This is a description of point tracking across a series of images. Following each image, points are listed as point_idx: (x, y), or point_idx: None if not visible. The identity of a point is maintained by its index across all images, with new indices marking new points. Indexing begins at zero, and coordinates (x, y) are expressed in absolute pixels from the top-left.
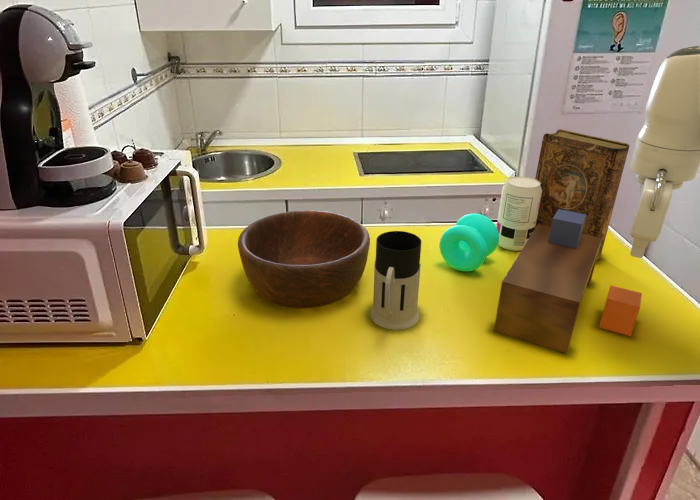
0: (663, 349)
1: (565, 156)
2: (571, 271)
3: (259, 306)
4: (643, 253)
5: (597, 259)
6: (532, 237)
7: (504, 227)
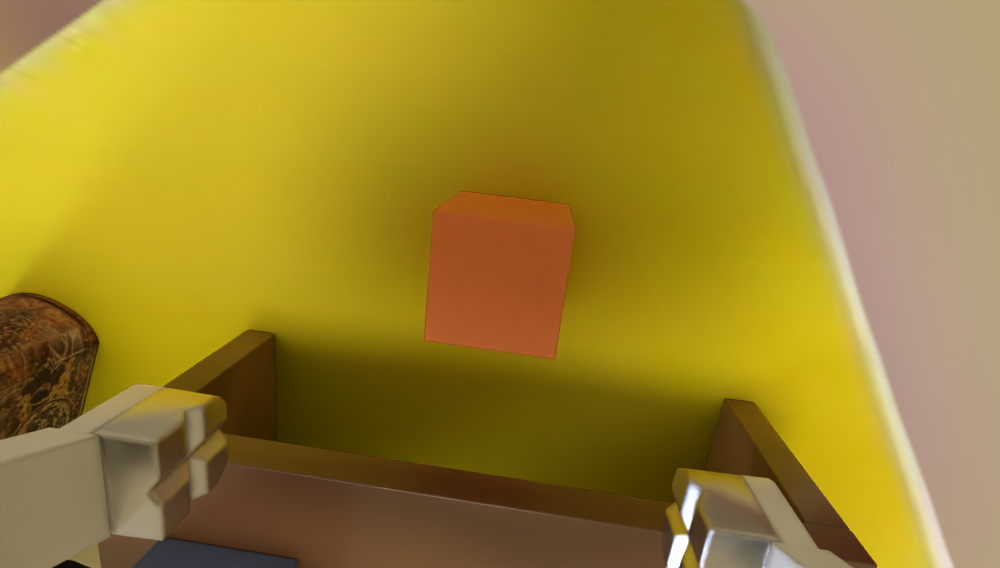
0: (611, 90)
1: None
2: None
3: None
4: (788, 507)
5: (54, 307)
6: None
7: None
